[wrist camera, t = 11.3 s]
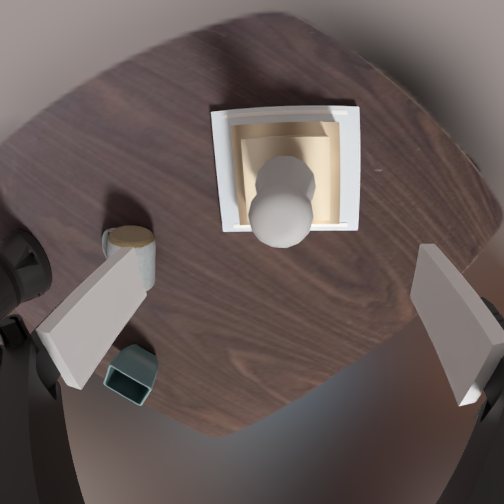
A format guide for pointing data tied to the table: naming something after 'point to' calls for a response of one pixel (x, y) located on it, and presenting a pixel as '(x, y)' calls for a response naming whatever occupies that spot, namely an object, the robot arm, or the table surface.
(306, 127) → the birch plinth
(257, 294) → the table surface
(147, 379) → the flower pot
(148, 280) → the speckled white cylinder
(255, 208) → the salt shaker
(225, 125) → the board
